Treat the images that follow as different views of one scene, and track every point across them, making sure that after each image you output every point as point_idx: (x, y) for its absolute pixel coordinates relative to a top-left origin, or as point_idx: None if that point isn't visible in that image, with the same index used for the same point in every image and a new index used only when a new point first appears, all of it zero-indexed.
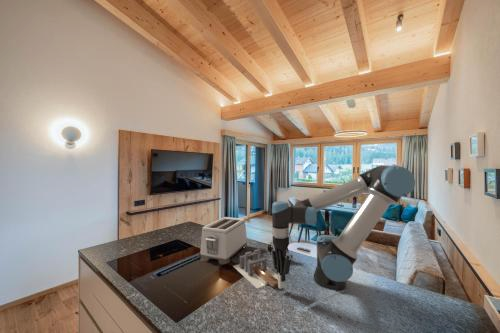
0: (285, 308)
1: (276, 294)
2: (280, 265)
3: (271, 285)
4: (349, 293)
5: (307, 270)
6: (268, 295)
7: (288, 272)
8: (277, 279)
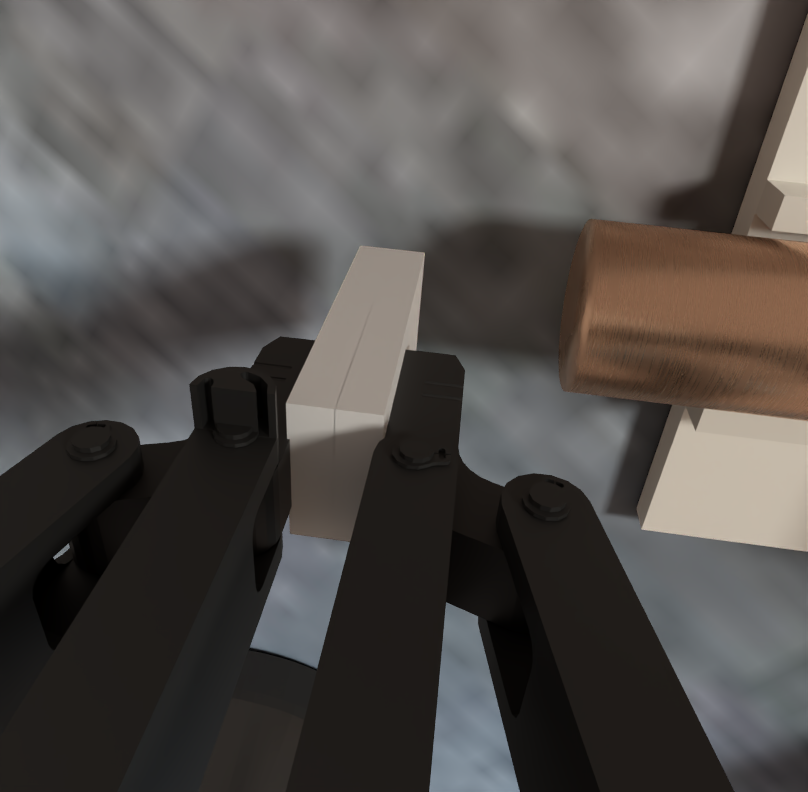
0: (91, 32)
1: (454, 179)
2: (159, 642)
3: (606, 221)
4: None
5: None
6: (531, 33)
7: (63, 564)
8: (696, 456)
